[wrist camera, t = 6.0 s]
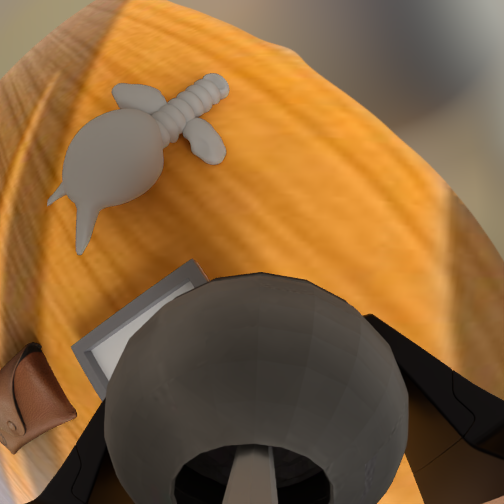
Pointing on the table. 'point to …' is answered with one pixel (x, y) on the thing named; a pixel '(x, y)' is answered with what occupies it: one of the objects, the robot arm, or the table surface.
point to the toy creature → (135, 147)
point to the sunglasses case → (30, 399)
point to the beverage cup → (256, 399)
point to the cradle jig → (130, 325)
